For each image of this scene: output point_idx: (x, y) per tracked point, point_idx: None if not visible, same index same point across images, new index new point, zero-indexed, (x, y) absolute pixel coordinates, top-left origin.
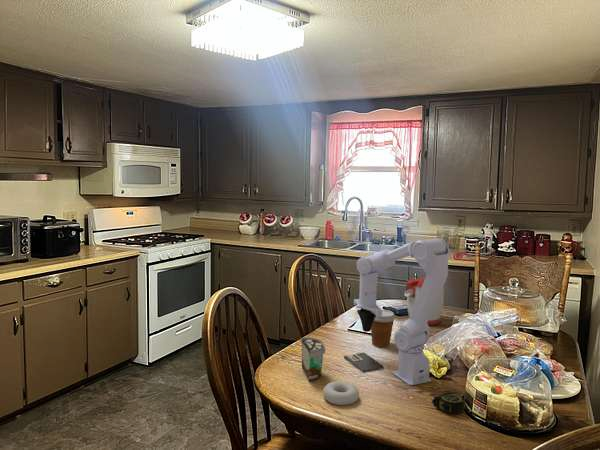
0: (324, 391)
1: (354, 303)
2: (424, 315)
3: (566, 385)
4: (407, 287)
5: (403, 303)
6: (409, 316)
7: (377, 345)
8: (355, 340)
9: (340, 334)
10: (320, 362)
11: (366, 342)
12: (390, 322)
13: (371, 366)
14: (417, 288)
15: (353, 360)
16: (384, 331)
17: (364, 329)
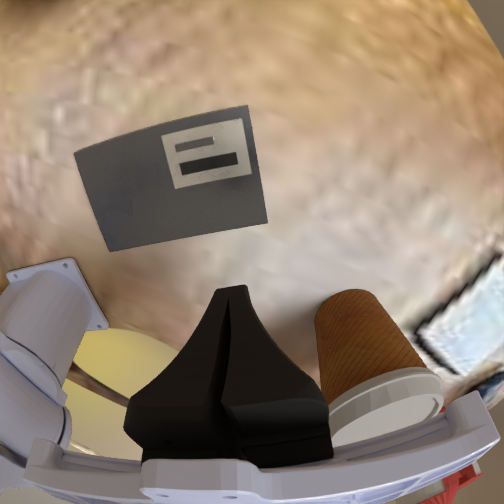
0: None
1: (471, 409)
2: None
3: (92, 452)
4: (471, 466)
5: (497, 397)
6: (440, 411)
7: (330, 302)
8: (422, 241)
9: (487, 209)
10: None
11: (387, 275)
12: None
13: (103, 201)
14: (438, 489)
15: (168, 135)
16: (322, 369)
17: (217, 296)
